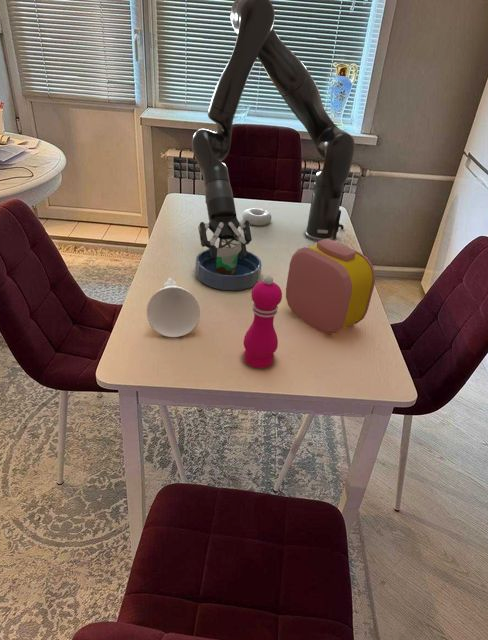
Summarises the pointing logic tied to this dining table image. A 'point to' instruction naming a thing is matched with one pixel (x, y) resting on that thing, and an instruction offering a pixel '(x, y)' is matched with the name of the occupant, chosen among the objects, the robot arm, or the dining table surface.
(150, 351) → the dining table surface
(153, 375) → the dining table surface
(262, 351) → the pepper mill
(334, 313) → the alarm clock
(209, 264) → the bowl
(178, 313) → the rocket engine
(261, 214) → the donut
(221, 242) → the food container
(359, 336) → the dining table surface
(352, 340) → the dining table surface
